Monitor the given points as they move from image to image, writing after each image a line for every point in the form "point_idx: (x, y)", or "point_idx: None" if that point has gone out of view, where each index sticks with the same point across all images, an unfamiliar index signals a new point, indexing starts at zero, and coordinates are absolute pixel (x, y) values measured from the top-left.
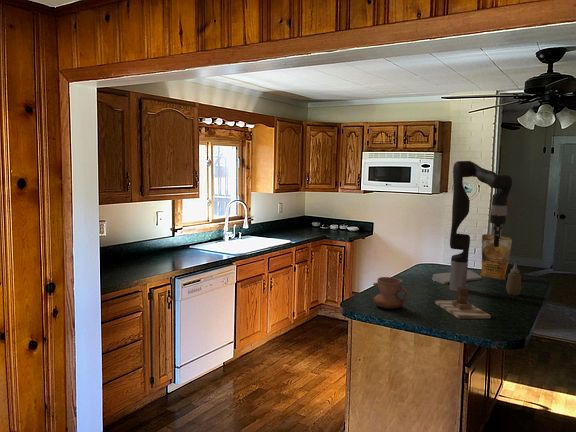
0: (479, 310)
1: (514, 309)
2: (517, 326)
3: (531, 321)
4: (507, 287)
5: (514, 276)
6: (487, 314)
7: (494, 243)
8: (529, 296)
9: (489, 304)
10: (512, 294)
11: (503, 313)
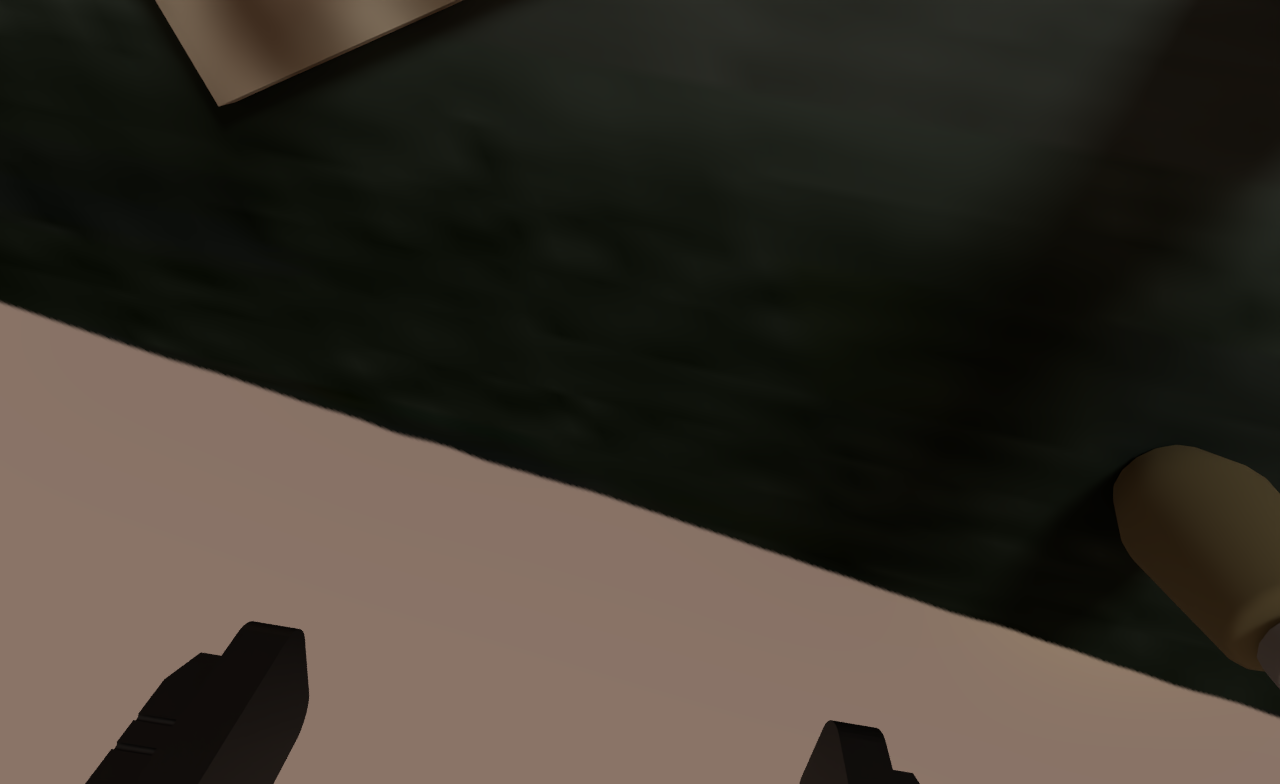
0: (335, 17)
1: (629, 373)
2: (132, 281)
3: (330, 410)
4: (1195, 471)
5: (1224, 601)
6: (229, 79)
7: (193, 713)
8: (1095, 582)
9: (735, 190)
10: (1123, 473)
11: (460, 255)
